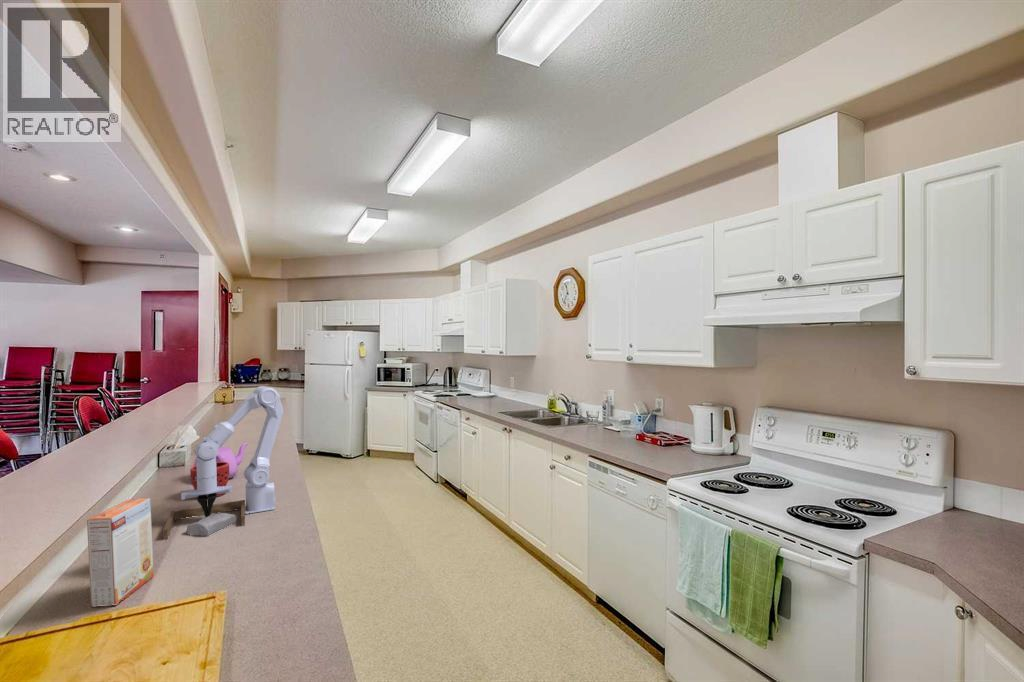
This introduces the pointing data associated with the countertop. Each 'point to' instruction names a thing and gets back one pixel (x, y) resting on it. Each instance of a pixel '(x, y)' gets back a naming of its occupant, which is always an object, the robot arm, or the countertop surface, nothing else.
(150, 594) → the countertop surface
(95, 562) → the cracker box
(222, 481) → the plant pot
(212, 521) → the stone block
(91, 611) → the countertop surface
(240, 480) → the countertop surface
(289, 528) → the countertop surface
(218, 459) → the teapot
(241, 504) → the brown wooden open frame
